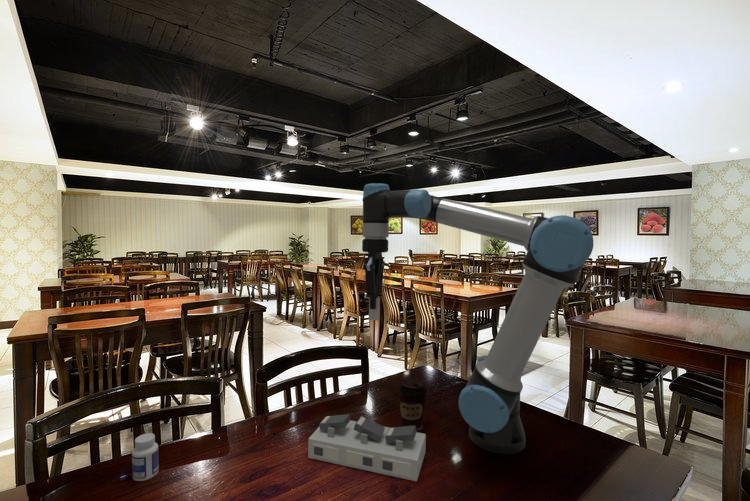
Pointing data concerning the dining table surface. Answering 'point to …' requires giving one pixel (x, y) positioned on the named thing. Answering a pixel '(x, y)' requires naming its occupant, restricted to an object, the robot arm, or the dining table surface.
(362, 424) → the switch
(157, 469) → the pill bottle
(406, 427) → the switch
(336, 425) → the switch
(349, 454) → the console
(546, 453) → the dining table surface
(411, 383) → the coffee cup
